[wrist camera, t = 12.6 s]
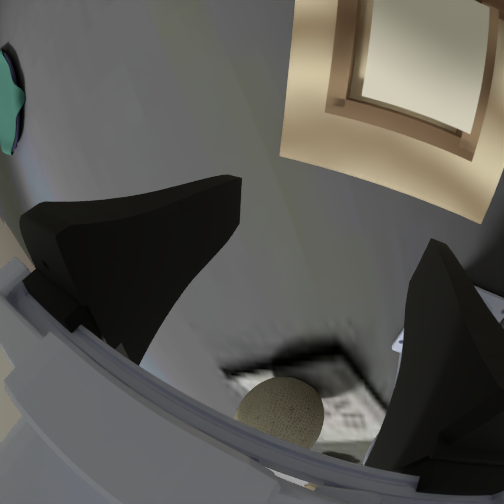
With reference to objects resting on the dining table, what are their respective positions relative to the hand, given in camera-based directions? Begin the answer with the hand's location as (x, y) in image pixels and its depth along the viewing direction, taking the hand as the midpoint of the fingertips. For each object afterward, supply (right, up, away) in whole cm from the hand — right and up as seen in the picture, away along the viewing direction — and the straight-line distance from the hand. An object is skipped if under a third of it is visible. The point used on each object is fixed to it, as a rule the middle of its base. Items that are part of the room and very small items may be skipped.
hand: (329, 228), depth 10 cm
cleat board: (+6, +10, +2) cm, 12 cm away
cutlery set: (-48, +30, +20) cm, 60 cm away
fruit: (+3, -18, +25) cm, 31 cm away
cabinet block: (+6, +9, +1) cm, 11 cm away
